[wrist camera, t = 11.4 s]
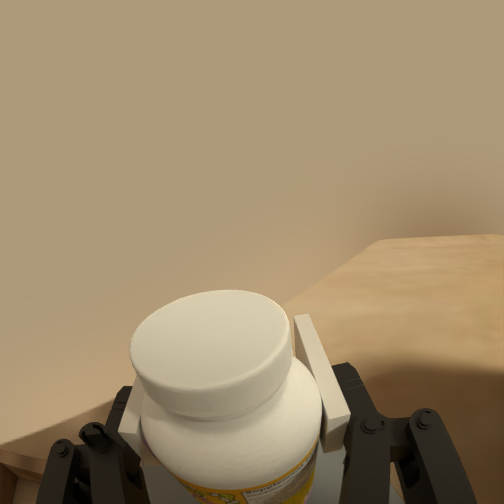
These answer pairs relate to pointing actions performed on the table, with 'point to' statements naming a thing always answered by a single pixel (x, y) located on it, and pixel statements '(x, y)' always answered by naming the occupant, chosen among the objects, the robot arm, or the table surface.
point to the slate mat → (320, 500)
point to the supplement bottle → (228, 399)
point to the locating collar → (17, 472)
